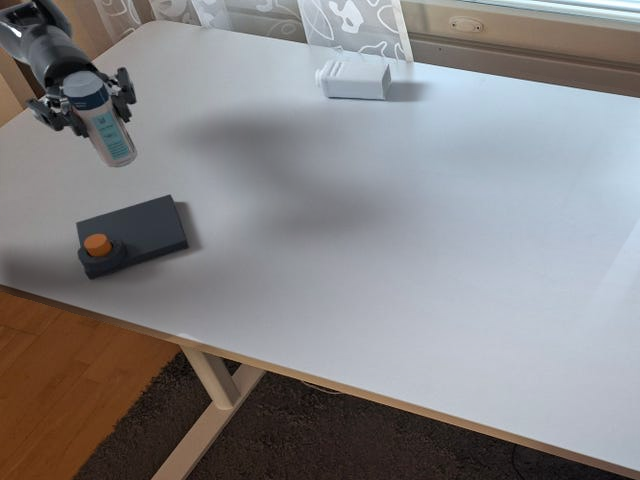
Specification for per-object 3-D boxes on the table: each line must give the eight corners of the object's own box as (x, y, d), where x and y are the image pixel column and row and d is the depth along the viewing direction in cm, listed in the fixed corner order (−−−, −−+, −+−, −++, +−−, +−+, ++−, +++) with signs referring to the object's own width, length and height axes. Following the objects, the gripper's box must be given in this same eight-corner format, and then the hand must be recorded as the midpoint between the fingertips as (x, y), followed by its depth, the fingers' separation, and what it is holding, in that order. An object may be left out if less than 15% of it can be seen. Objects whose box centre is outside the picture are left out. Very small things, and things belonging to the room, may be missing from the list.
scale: (90, 283, 95) (79, 268, 92) (80, 229, 102) (70, 214, 100) (190, 251, 98) (183, 235, 96) (173, 201, 106) (166, 185, 103)
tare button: (91, 260, 94) (85, 250, 93) (88, 247, 96) (82, 237, 94) (113, 253, 95) (107, 243, 93) (110, 240, 96) (104, 231, 95)
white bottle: (325, 79, 127) (320, 57, 123) (392, 82, 125) (389, 60, 122) (315, 98, 123) (309, 76, 119) (384, 102, 121) (380, 79, 118)
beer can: (117, 147, 97) (76, 66, 87) (146, 152, 96) (107, 72, 86) (96, 166, 94) (51, 86, 85) (125, 172, 93) (82, 92, 84)
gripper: (-3, 62, 91) (32, 118, 83) (102, 29, 96) (146, 77, 88) (27, 113, 97) (63, 169, 88) (125, 78, 102) (168, 128, 94)
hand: (104, 123), depth 88 cm, fingers closed on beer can, 4 cm apart
